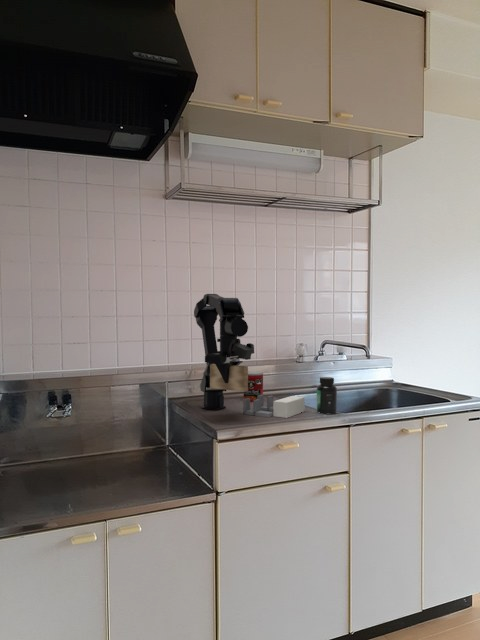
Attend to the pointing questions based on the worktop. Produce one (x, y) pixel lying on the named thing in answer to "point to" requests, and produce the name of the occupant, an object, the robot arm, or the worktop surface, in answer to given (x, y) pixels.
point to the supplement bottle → (326, 396)
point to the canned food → (254, 385)
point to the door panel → (230, 378)
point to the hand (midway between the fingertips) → (228, 382)
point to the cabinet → (275, 406)
